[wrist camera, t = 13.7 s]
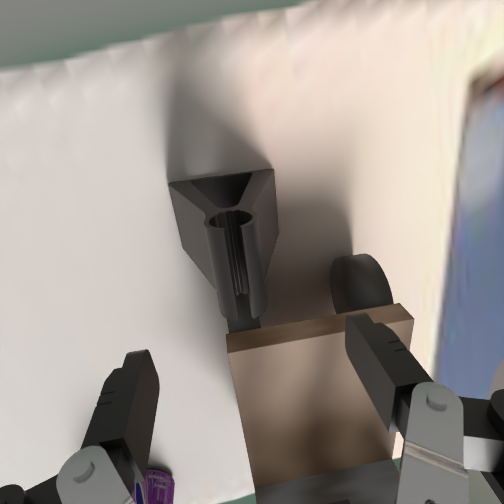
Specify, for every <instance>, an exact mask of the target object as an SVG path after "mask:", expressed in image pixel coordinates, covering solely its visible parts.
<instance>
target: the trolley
mask: <svg viewBox="0 0 504 504" xmlns="http://www.w3.org/2000/svg"><path fill="white" fill-rule="evenodd" d="M330 280H331V292H332V298H333V303H334V307H335V311H336V315H330V316H325V317H319V318H314V319H308V320H303V321H297V322H291V323H286V324H280V325H275V326H269V327H264V328H261V326H260V320H259V316H258V317H256V318H253V317H252V315H251V307H250V300H249V293H247V294H243V293H240V294H239V295H236V299H237V305H238V312H239V321H232V320H229V319H227V322H228V328H229V334H226V341H227V352H228V358H229V363H230V368H231V373H232V378H233V383H234V388H235V393H236V398H237V403H238V408H239V413H240V418H241V423H242V428H243V433H244V438H245V443H246V448H247V453H248V458H249V463H250V468H251V473H252V478H253V483H254V488H255V495H256V502H257V504H328V503H333V502H338V501H342V500H347V499H349V502H350V504H394V501H395V495H396V488H397V482H398V475H399V471H398V470H397V468H396V466H395V464H394V462H393V460H392V455H393V449H394V442H395V436H396V432H394V433H388V431H387V429H386V427H385V425H384V423H383V421H382V420H381V418H380V416H379V414H378V412H377V410H376V408H375V407H374V405H373V403H372V401H371V399H370V397H369V395H368V394H367V392H366V390H365V388H364V386H363V384H362V382H361V380H360V379H359V377H358V375H357V373H356V371H355V369H354V367H353V366H352V364H351V362H350V360H349V358H348V356H347V353H346V349H345V320H346V316H347V315H350V314H356V313H361V312H366V313H367V314H368V315H369V317H370V318H371V319H372V321H373V322H374V323H380V322H381V323H383V324H384V325H386V326H388V327H389V328H391V329H392V330H393V331H394V332H395V333H396V335H397V336H398V337H399V338H400V340H401V342H403V343H404V345H405V346H406V347H407V350H409V349H410V343H411V337H412V331H413V325H414V318H413V317H412V316H411V315H410V314H409V313H408V311H407V310H406V309H405V308H404V307H403V306H402V305H401V304H400V303H397V304H394V303H393V297H392V293H391V289H390V286H389V283H388V280H387V278H386V276H385V274H384V272H383V270H382V268H381V266H380V265H379V264H378V262H377V261H376V260H375V259H374V258H373V257H372V256H370V255H368V254H359V255H353V256H347V257H341V258H336V259H335V260H334V262H333V264H332V267H331V277H330Z"/></svg>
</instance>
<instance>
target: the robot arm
mask: <svg viewBox="0 0 504 504" xmlns="http://www.w3.org/2000/svg"><path fill="white" fill-rule="evenodd" d="M345 349H346V353H347V356H348V358H349V360H350V362H351V364H352V366H353V367H354V369H355V371H356V373H357V375H358V377H359V379H360V380H361V382H362V384H363V386H364V388H365V390H366V392H367V394H368V395H369V397H370V399H371V401H372V403H373V405H374V407H375V408H376V410H377V412H378V414H379V416H380V418H381V420H382V421H383V423H384V425H385V427H386V429H387V431H388V433H394V432H400V433H401V435H402V437H403V439H404V443H403V449H402V455H401V462H400V469H399V475H398V482H397V488H396V495H395V501H394V504H469V480H468V472H467V470H466V469H472V470H479V471H480V472H481V473H482V475H483V476H484V477H485V479H486V481H487V482H488V484H489V485H490V486H491V488H492V490H493V491H494V493H495V494H496V496H497V497H498V499H499V500H500V502H501V503H502V504H504V389H501V390H497V391H495V392H494V393H493V394H492V396H491V399H490V400H484V399H475V398H465V397H460V396H457V395H456V394H455V393H454V392H453V391H452V390H451V389H449V388H447V387H446V386H444V385H441V384H438V383H435V382H434V381H433V380H432V379H431V378H430V376H429V375H428V374H427V373H426V371H425V370H424V369H423V368H422V366H421V365H420V364H419V362H418V361H417V360H416V359H415V357H414V356H413V355H412V354H411V352H410V351H409V350H407V347H406V346H405V345H404V343H403V342H401V340H400V338H399V337H398V336H397V335H396V333H395V332H394V331H393V330H392V329H391V328H389V327H388V326H386V325H384V324H383V323H381V322H380V323H374V322H373V321H372V319H371V318H370V317H369V315H368V314H367V313H366V312H361V313H356V314H350V315H347V316H346V320H345ZM159 388H160V387H159V378H158V374H157V372H156V369H155V366H154V363H153V360H152V358H151V355H150V352H149V350H147V349H146V350H140V351H135V352H129V353H127V355H126V357H125V360H124V363H123V366H122V368H117V369H114V370H113V371H112V373H111V374H110V375H109V377H108V378H107V379H106V380H105V382H104V385H103V388H102V391H101V396H99V399H98V402H97V407H95V410H94V413H93V416H92V419H91V421H90V424H89V427H88V430H87V432H86V435H85V438H84V441H83V444H82V446H81V449H80V450H79V451H78V452H76V453H75V454H74V455H72V456H71V457H70V458H69V459H68V460H67V461H66V462H65V464H64V465H63V466H62V468H61V470H60V472H59V474H57V475H56V476H54V477H52V478H50V479H48V480H46V481H44V482H42V483H40V484H38V485H36V486H34V487H32V488H30V489H28V490H26V491H24V490H23V489H22V487H20V486H19V485H16V484H11V485H6V486H3V487H1V488H0V504H135V502H134V501H133V499H132V497H131V496H132V490H133V485H134V483H138V482H143V481H145V477H146V471H147V465H148V459H149V453H150V447H151V440H152V434H153V428H154V422H155V416H156V410H157V404H158V397H159ZM464 468H465V469H464ZM328 504H350V502H349V499H347V500H342V501H338V502H333V503H328Z"/></svg>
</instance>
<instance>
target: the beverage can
mask: <svg viewBox="0 0 504 504" xmlns="http://www.w3.org/2000/svg"><path fill="white" fill-rule="evenodd" d="M174 485H175V483H174V480H173V478H172V477H171V476H170V475H168V474H166V473H164V472H161V471H159V470H147V471H146V477H145V481H143V482H138V483H134V485H133V490H132V496H131V497H132V499H133V501H134V502H135V504H173V498H174Z"/></svg>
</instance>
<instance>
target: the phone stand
mask: <svg viewBox="0 0 504 504" xmlns="http://www.w3.org/2000/svg"><path fill="white" fill-rule="evenodd" d="M168 187H169V191H170V195H171V199H172V204H173V208H174V212H175V217H176V221H177V225H178V229H179V234H180V238H181V242H182V246H183V249H184V250H185V251H186V253H187V254H188V255H189V256H190V258H191V259H192V260H193V261H194V263H195V264H196V265H197V266H198V268H199V269H200V270H201V271H202V273H203V274H204V275H205V276H206V278H207V279H208V280H209V281H210V283H211V284H212V285H213V287H214V288H215V289H216V290H217V295H218V301H219V306H220V311H221V313H222V315H223V316H224V317H225V318H227V319H229V320H232V321H239V312H238V305H237V299H236V295H239V294H240V293H243V294H247V293H249V300H250V307H251V315H252V317H253V318H256V317H258V316H260V315H261V314H262V313H263V312H264V311H265V309H266V307H267V301H266V291H265V282H264V278H265V275H266V272H267V269H268V265H269V262H270V259H271V256H272V253H273V250H274V247H275V243H276V240H277V237H278V234H279V230H278V216H277V203H276V189H275V176H274V169H264V170H257V171H249V172H242V173H235V174H228V175H223V176H214V177H207V178H199V179H192V180H185V181H178V182H171V183H168Z"/></svg>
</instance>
